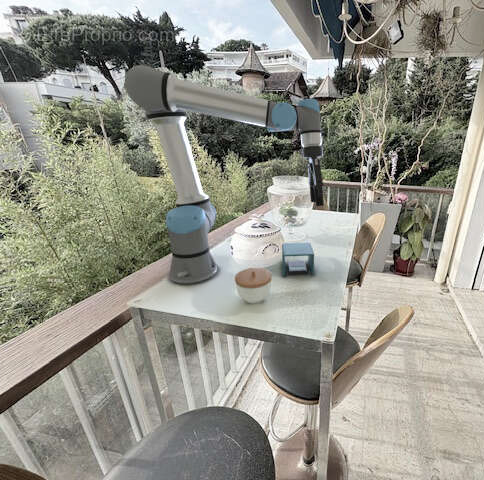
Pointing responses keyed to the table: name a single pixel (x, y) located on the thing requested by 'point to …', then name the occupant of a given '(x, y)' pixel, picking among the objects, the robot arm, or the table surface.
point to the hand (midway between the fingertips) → (316, 203)
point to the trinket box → (253, 284)
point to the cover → (298, 253)
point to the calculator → (297, 267)
